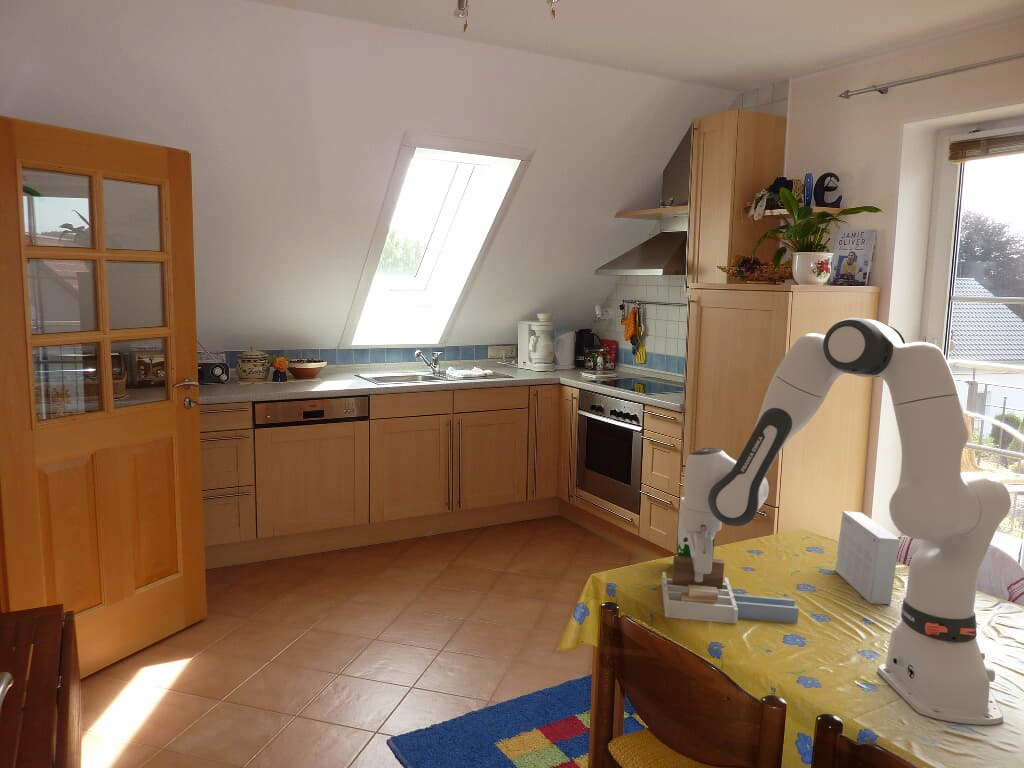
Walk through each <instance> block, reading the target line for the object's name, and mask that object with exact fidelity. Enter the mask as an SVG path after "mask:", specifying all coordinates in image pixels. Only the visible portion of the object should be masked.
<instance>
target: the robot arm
mask: <svg viewBox="0 0 1024 768" xmlns="http://www.w3.org/2000/svg"><path fill="white" fill-rule="evenodd" d="M844 374H850V375H855V376H857V377H858V376H859V377H862V378H863V377H864V378H881V379H882V380H883V381H885V383H886V384H887V386H888V389H889V393H890V397H891V403H892V406H893V411H894V415H895V420H896V425H897V430H898V435H899V440H900V446H901V466H900V475H899V480H898V484H897V487H896V489H895V491H894V492H893V494H892V496H891V498H890V500H889V505H888V508H889V511H888V512H889V516H890V519H891V521H892V523H893V525H894V526H895V528H896V529H897V530H898V531H899V532H900V533H901V534H903V536H906V537H907V538H910V539H915V540H922V543H921V545H920V546H919V547H918V549H916V550H917V551H915V552H914V554H913V556H912V557H911V559H910V561H909V567H908V576H907V586H906V593H905V597H904V598H903V601H902V604H901V609H900V610H901V613H900V617H901V621H900V622H899V624H898V625H897V626H896V627H895V628H894V629H893V630H892V631H891V633H890V639H889V645H888V650H887V653H886V654H887V656H886V661H885V663H881V664H879V665H878V666H877V673H878V674H879V676H880V677H882V679H884V681H886V682H887V684H888V685H890V686H891V687H892V688H893V690H894V691H896V692H897V693H898V695H900V697H901V698H903V700H905V702H906V703H907V704H909V705H910V706H911V708H913V710H915V711H916V713H918V714H921V715H923V716H925V717H929V718H933V719H936V720H940V721H944V722H945V721H946V722H951V723H957V724H967V725H978V726H980V725H981V726H983V725H984V726H987V725H988V726H989V725H998V724H1001V723H1003V722H1004V716H1003V713H1002V711H1001V709H1000V707H999V704H998V703H997V700H996V698H995V696H994V694H993V692H992V690H991V688H990V685H991V684H990V683H993V682H995V681H996V680H995V679H996V672H995V669H994V668H991V667H986V665H985V662H984V661H985V659H986V654H985V653H986V652H984V651H981V649H980V646H979V643H978V640H977V638H976V637H977V627H978V626H977V625H978V624H977V619H976V618H977V617H976V613H975V602H976V595H977V589H978V581H979V577H980V576H979V575H980V572H981V569H982V565H983V562H984V561H985V558H986V555H987V553H988V550H989V547H990V545H991V543H992V540H993V539H994V536H995V533H996V531H997V529H998V527H999V526H1000V525H1001V524H1002V523H1003V521H1004V519H1005V518H1006V517H1007V516H1008V514H1009V512H1010V509H1011V506H1012V502H1011V501H1012V500H1011V496H1010V493H1009V490H1008V489H1007V487H1006V486H1005V485H1004V483H1003V482H1002V481H1001V480H999V479H998V478H996V476H992V475H991V474H984V473H982V472H973V471H962V469H961V468H962V455H963V450H964V448H965V446H967V445H966V444H967V443H968V441H969V431H968V427H967V423H966V418H965V414H964V410H963V406H962V401H961V397H960V393H959V390H958V387H957V384H956V381H955V377H954V374H953V372H952V369H951V368H950V365H949V363H948V360H947V358H946V357H945V354H944V353H943V351H942V349H941V348H940V347H938V346H937V345H936V344H933V343H930V342H925V341H915V342H909V343H907V342H906V340H905V337H904V336H903V335H902V333H900V332H899V330H898V329H895V327H892V325H891V326H890V325H887V324H884V323H882V322H880V321H877V320H875V319H868V318H861V317H850V318H849V317H848V318H845V319H842V320H840V321H838V322H836V323H834V324H833V325H832V326H831V327H830V328H829V329H828V331H827V332H826V334H821V333H812V332H811V333H805V334H803V335H801V336H800V337H798V339H797V340H795V342H794V344H792V346H791V348H790V349H789V350H788V351H787V353H786V355H785V356H784V358H783V359H782V360H781V362H780V364H779V366H778V367H777V369H776V371H775V373H774V374H773V377H772V379H771V381H770V382H769V386H768V389H767V391H766V393H765V396H764V399H763V403H762V405H761V408H760V411H759V414H758V417H757V420H756V422H755V426H754V428H753V431H752V433H751V434H750V437H749V438H748V440H747V442H746V443H745V446H744V447H743V449H742V451H741V453H740V455H739V457H738V458H737V460H735V459H734V458H733V457H731V456H729V455H728V454H727V453H726V452H725V451H724V449H721V448H717V447H703V448H698V449H696V450H693V451H692V452H691V453H690V454H689V455H688V456H687V458H686V464H685V469H684V475H683V476H684V477H683V489H684V496H683V497H684V500H683V503H682V518H681V525H682V526H683V527H684V528H686V532H687V538H688V544H689V549H690V553H691V558H692V562H693V567H694V571H695V572H694V580H695V581H696V582H702V581H703V574H710V573H711V570H712V556H713V557H714V552H713V542H712V537H713V536H716V532H719V531H721V529H722V524H725V525H726V526H731V527H742V526H745V525H747V524H749V523H750V522H751V521H753V519H754V518H755V516H756V514H757V513H758V511H759V509H761V507H762V506H763V505H764V504H765V502H766V500H767V499H768V497H769V495H770V483H769V481H768V479H767V477H766V476H767V474H768V472H770V471H769V470H770V469H771V467H772V465H773V463H774V462H775V460H776V458H777V456H778V455H779V453H780V451H781V450H782V449H783V448H784V446H785V445H786V444H787V443H788V442H789V440H791V439H792V438H793V437H794V436H795V435H796V434H797V433H799V431H801V430H802V429H803V428H804V427H805V426H806V425H808V423H809V422H810V421H811V419H812V418H813V417H814V416H815V415H816V413H817V412H818V410H819V409H820V408H821V406H822V405H823V403H824V402H825V399H826V398H827V395H828V394H829V392H830V390H831V388H832V386H833V385H834V383H835V381H836V380H837V379H838V378H839V377H841V376H842V375H844Z"/></svg>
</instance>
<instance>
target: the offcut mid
mask: <svg viewBox="0 0 1024 768" xmlns="http://www.w3.org/2000/svg"><path fill="white" fill-rule="evenodd" d="M681 601H686V602H697V603H708V604H715V600H704V599H693V598H689V595H688V593H687V592H681Z"/></svg>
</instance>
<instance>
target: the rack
mask: <svg viewBox="0 0 1024 768" xmlns="http://www.w3.org/2000/svg"><path fill="white" fill-rule="evenodd" d="M661 573H662V574H661V592H662V602H663V611H664V617H665V618H673V619H683V620H692V621H694V620H695V621H705V622H714V623H715V622H716V623H726V624H738V619H739V618H738V608H737V605H736V602H735V599H734V595H733V594H734V593H733V590H732V587H731V583H730V581H729V578H728V577H726V576H725V577H724V576H723V587H722V589H717V590H718V601H715V603H718V604H708V603H697V602H686V601H680V600H681V592H687V593H688V586H679V585H672V578H667V572H666V571H661Z"/></svg>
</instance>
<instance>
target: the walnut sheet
mask: <svg viewBox="0 0 1024 768" xmlns="http://www.w3.org/2000/svg"><path fill="white" fill-rule="evenodd" d="M724 571H725V561H724V559H716V558H713V559H712V570H711V573H710V574H703V581H702V582H696V581H695V580H694V572H695V571H694V567H693V562H692V558H691V557H682V556H677V555H673V561H672V578H671V579H672V585H679V586H688V585H697V586H708V587H717V589H722V587H723V583H724V574H725V573H724Z"/></svg>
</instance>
